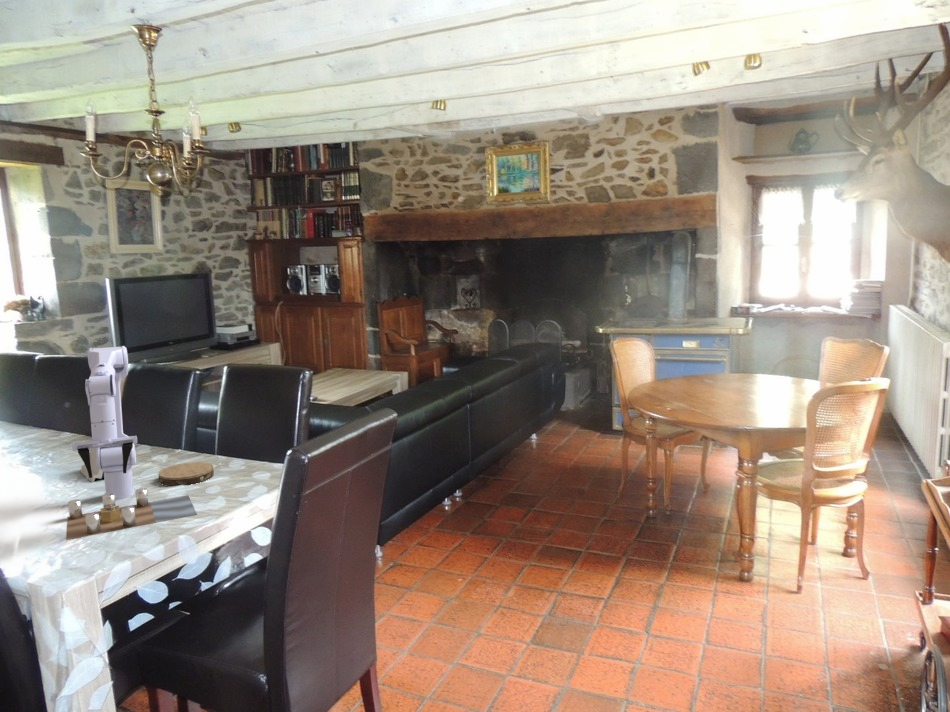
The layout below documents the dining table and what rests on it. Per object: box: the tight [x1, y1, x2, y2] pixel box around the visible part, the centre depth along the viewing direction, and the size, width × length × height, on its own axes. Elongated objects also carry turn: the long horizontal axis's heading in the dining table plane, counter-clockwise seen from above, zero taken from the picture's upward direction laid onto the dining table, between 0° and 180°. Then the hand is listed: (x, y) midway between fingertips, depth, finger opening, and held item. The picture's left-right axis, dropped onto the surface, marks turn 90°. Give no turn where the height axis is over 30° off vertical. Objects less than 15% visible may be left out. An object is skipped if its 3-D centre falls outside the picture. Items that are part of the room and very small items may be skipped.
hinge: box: [80, 448, 104, 483], centre depth 221 cm, size 17×5×10 cm, turn 41°
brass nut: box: [99, 505, 120, 523], centre depth 179 cm, size 5×4×3 cm
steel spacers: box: [67, 487, 150, 535], centre depth 178 cm, size 17×19×4 cm
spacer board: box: [65, 494, 198, 541], centre depth 181 cm, size 18×30×1 cm, turn 120°
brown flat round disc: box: [158, 461, 215, 487], centre depth 214 cm, size 16×16×3 cm
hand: (107, 475), depth 174 cm, fingers open, 7 cm apart
